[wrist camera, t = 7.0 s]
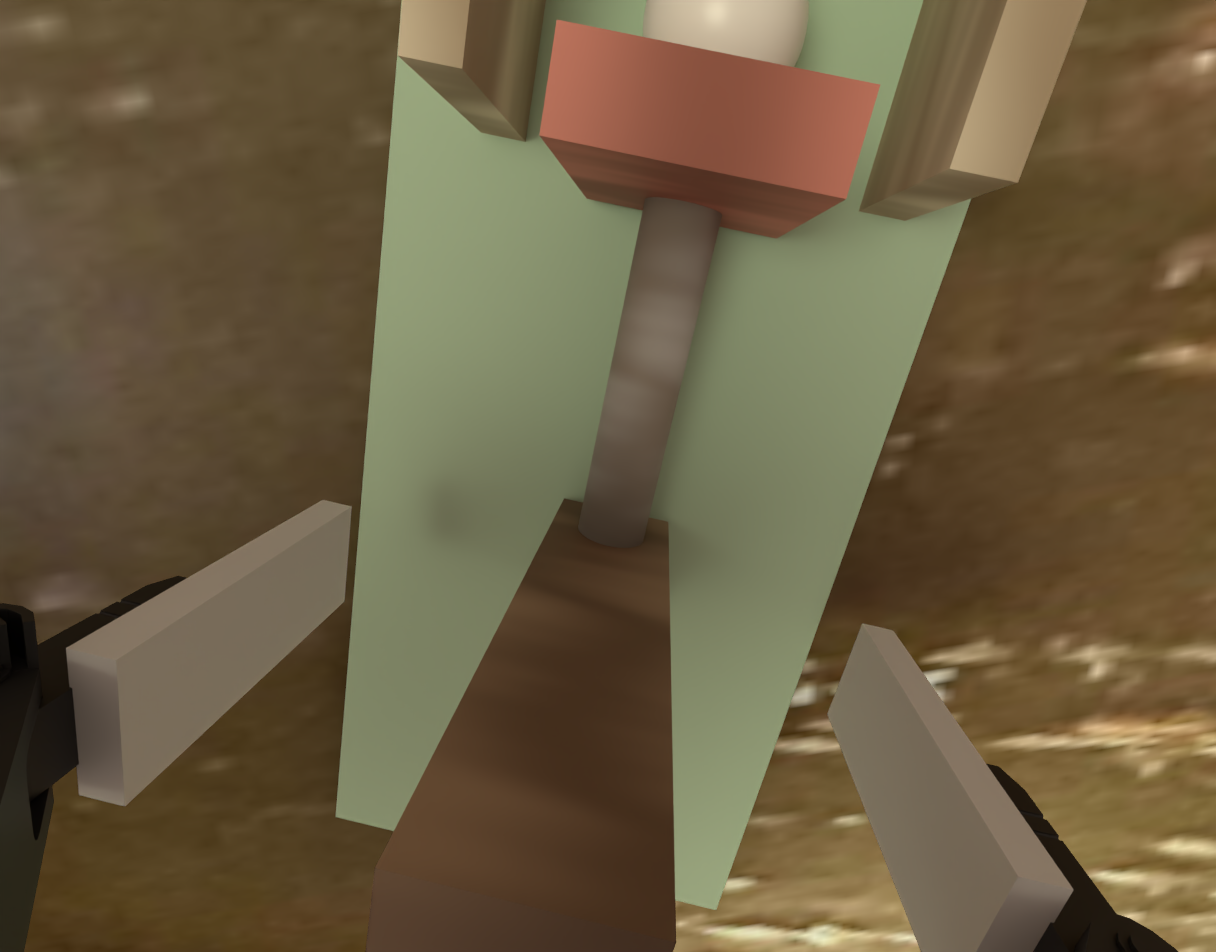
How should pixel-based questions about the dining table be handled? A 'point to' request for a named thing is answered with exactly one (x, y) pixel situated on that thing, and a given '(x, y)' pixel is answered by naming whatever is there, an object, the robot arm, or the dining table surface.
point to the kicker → (608, 525)
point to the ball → (732, 26)
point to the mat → (570, 414)
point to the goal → (916, 124)
